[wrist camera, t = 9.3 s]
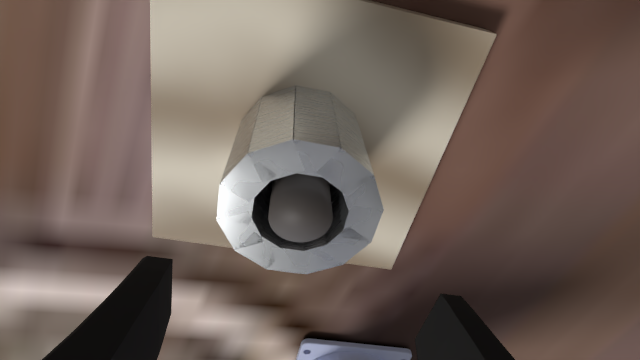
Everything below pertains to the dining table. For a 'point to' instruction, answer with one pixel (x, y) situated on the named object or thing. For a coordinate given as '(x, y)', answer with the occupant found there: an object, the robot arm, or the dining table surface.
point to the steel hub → (303, 158)
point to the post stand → (313, 72)
